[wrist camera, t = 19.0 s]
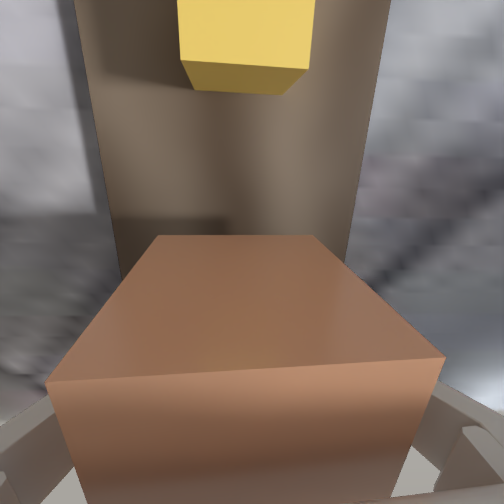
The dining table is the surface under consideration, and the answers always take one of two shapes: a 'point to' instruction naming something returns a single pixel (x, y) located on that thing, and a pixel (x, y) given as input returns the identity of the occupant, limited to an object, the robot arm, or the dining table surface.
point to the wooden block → (242, 379)
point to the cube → (245, 43)
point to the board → (228, 129)
